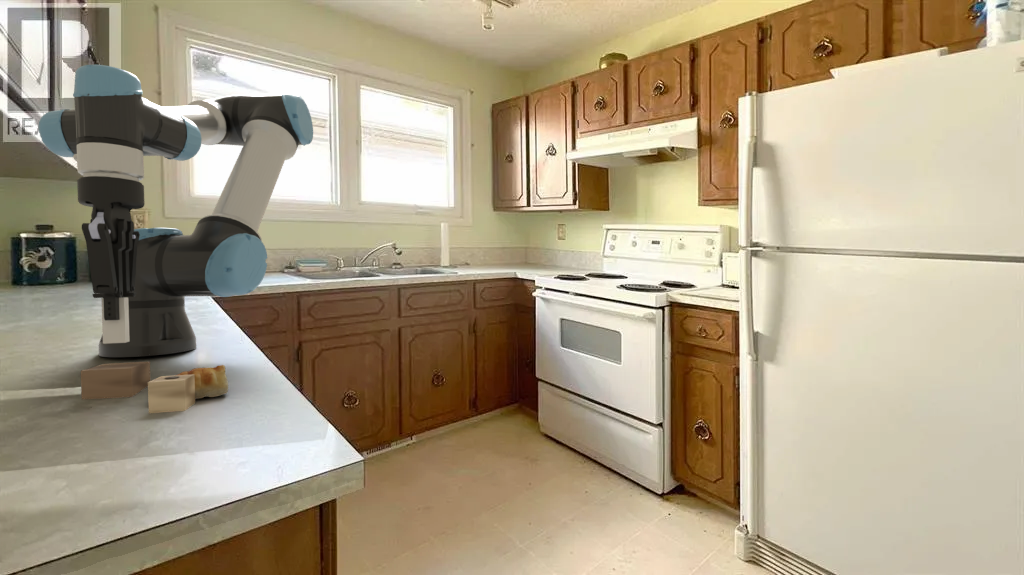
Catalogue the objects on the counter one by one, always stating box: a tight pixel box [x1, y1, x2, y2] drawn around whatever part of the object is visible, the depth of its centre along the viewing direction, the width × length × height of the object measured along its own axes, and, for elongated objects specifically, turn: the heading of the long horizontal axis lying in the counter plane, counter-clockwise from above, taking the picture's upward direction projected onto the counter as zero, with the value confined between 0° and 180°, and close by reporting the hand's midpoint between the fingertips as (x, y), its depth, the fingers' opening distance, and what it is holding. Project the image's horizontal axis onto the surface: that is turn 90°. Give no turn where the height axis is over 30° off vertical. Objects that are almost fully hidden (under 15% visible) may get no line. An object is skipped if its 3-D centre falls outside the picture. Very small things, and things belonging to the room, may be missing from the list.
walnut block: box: [80, 361, 152, 400], centre depth 73 cm, size 6×6×4 cm
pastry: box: [176, 364, 229, 400], centre depth 71 cm, size 9×7×4 cm
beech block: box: [147, 374, 196, 414], centre depth 65 cm, size 4×4×4 cm
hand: (116, 342), depth 73 cm, fingers closed
